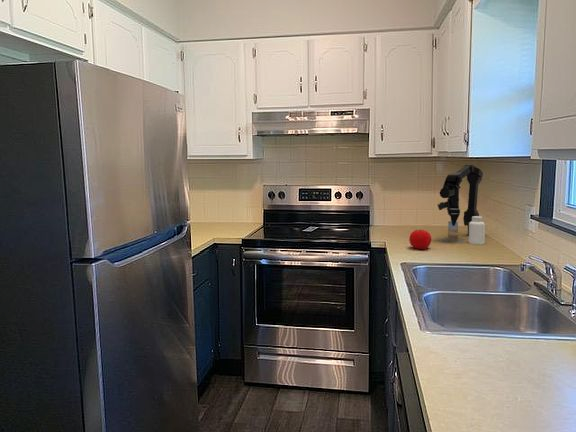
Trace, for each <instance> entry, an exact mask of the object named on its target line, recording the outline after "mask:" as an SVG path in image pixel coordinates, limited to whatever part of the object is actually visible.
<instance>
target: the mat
mask: <svg viewBox="0 0 576 432" xmlns="http://www.w3.org/2000/svg"><path fill="white" fill-rule="evenodd" d="M440 242H441V243H464V240H463V238H458V241H448V238H440Z"/></svg>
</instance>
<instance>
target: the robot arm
mask: <svg viewBox="0 0 576 432" xmlns="http://www.w3.org/2000/svg"><path fill="white" fill-rule="evenodd" d="M483 175H484V172H483V171H482V170H481V169H480V168H479V167H476V166H475V165H474V164H464V165H463V167H461V168H460V169H459V170H458V171H456V172H452V173H449V174H447V176H446V178H445V179H444V183H443V185H442V188H441V189H440V191H439V195H440V197H441V198H442V199H447V201H446V200H445V201H442V202H439V203H438V204H437V205H436V206H437V207H438V210H439V211H441V210H444V209H446V211H447V215H448V216H449V217H450V221H452V226H455V223H456V221H458V219H459V217H460V215H461V210H460V189H461V186H460V185H461V183H462V182H463V179H464V178H465V177H466V181H467V182H468V184H469V188H468V197H467V198H468V199H467V202H468V203H467V208H466V210H465V211H464V212H463V218H462V221H463V225H464V226H467V232H466V236H467V237H469V223H470V222H471V221H472V216H480V213H479V211H478V209H477V208H478V207H477V205H478V195H479V194H478V193H479V185H480V183H481V182H482V180H483V179H482V178H483V177H484V176H483Z"/></svg>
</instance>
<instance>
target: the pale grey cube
mask: <svg viewBox="0 0 576 432" xmlns="http://www.w3.org/2000/svg"><path fill="white" fill-rule="evenodd" d="M447 222H448V224H447V230H448V229H458V230H459V221H458V220H457V221H456V223H455V226H452V221H451V220H449V221H447Z"/></svg>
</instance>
